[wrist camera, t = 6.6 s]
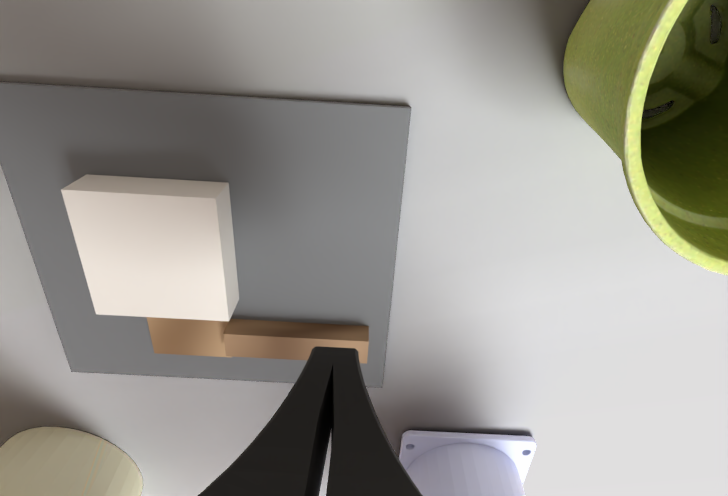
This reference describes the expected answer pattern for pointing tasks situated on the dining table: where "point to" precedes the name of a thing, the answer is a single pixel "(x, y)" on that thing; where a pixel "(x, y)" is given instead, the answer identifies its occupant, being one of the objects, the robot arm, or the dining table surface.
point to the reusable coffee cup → (65, 465)
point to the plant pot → (666, 130)
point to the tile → (155, 246)
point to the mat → (248, 207)
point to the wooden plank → (253, 338)
